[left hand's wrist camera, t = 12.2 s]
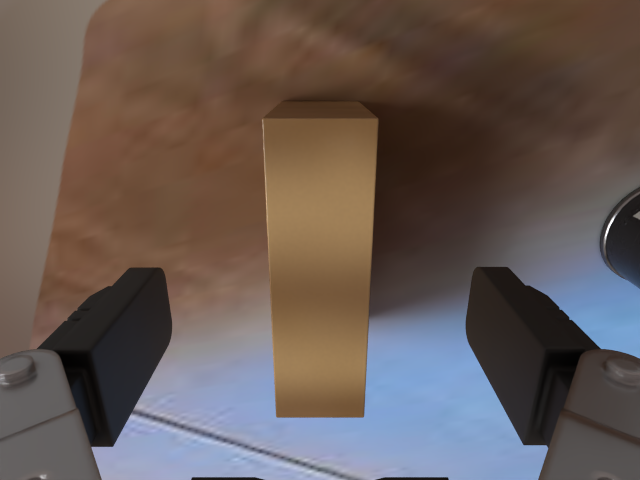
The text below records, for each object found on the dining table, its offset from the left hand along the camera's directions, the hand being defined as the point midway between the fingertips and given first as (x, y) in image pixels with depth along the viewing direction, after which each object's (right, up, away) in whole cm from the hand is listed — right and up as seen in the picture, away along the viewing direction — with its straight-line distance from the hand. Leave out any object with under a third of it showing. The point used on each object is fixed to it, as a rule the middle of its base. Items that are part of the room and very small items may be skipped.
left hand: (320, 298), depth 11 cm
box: (0, +3, +27) cm, 27 cm away
